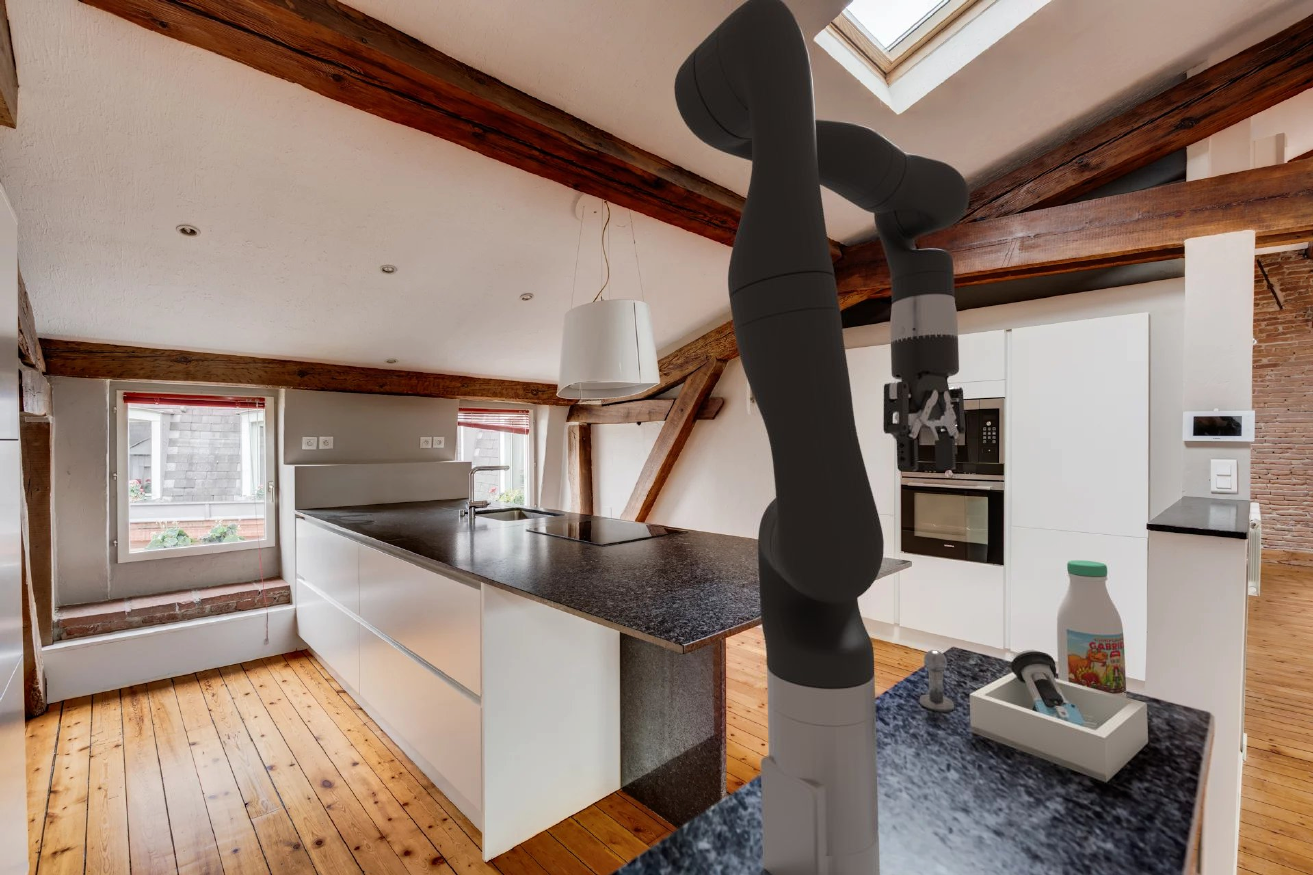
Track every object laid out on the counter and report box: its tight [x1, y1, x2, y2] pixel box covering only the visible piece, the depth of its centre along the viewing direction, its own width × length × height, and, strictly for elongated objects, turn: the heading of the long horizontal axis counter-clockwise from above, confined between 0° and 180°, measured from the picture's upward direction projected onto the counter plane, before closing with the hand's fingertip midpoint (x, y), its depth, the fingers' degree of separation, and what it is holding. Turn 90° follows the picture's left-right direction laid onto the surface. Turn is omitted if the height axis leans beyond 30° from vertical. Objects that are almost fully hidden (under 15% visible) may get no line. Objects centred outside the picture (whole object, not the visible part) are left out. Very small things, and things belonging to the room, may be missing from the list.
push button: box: [1010, 649, 1096, 727], centre depth 75 cm, size 7×5×10 cm
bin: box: [969, 671, 1149, 784], centre depth 72 cm, size 14×14×5 cm
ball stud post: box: [919, 649, 955, 713], centre depth 82 cm, size 4×4×8 cm
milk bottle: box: [1056, 559, 1127, 698], centre depth 82 cm, size 8×8×20 cm
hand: (927, 470), depth 70 cm, fingers open, 8 cm apart
